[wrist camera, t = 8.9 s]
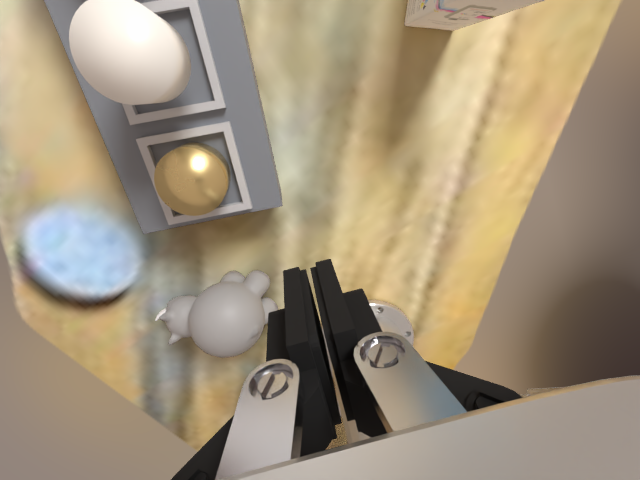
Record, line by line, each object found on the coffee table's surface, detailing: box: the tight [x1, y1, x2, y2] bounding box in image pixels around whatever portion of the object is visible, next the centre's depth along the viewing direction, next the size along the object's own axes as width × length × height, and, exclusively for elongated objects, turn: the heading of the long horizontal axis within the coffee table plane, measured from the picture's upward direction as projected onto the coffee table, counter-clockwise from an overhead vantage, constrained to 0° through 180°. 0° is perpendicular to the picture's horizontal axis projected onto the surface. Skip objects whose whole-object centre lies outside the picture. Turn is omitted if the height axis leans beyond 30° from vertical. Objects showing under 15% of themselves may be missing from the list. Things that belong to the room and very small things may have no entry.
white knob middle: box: [69, 0, 191, 105], centre depth 19 cm, size 5×5×4 cm
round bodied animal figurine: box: [155, 270, 278, 357], centre depth 34 cm, size 7×12×8 cm, turn 97°
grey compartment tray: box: [44, 0, 282, 234], centre depth 26 cm, size 24×12×6 cm, turn 10°
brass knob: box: [154, 142, 231, 216], centre depth 26 cm, size 5×5×3 cm
